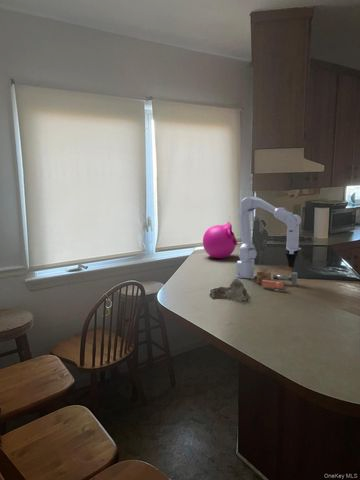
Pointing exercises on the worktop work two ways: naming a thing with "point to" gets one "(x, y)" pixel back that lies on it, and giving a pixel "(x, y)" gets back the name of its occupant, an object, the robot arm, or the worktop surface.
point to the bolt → (287, 278)
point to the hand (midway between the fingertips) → (291, 265)
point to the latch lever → (273, 284)
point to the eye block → (263, 275)
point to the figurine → (219, 241)
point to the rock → (230, 292)
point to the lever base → (279, 290)
